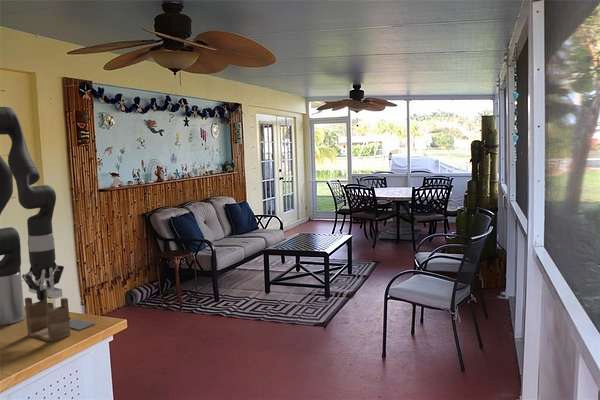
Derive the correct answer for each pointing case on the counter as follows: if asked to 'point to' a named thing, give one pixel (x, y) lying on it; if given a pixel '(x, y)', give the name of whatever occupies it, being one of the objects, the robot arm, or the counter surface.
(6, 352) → the counter surface
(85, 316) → the counter surface
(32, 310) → the cradle
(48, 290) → the steel rod
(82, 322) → the mat
